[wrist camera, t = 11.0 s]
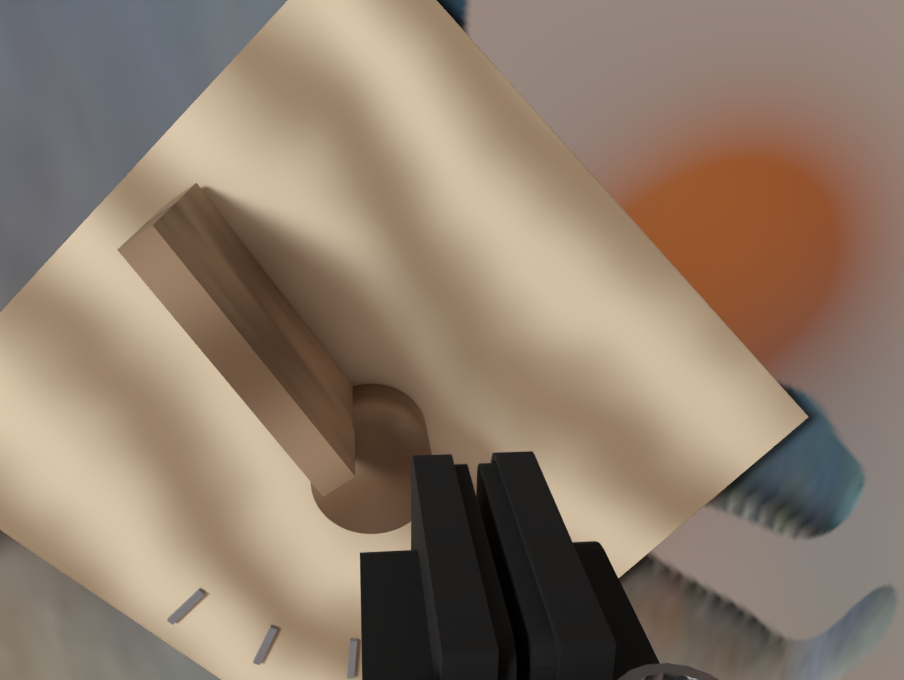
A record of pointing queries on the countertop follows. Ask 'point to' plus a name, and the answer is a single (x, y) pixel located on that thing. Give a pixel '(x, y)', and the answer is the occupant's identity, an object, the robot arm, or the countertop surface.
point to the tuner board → (360, 341)
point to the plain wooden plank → (282, 366)
